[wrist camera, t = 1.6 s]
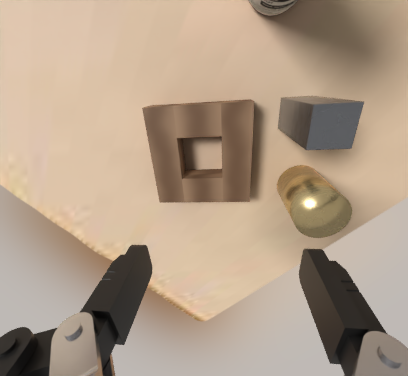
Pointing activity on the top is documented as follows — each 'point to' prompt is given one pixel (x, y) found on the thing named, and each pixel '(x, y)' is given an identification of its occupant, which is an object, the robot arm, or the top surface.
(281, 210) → the top surface
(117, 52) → the top surface
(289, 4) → the spray can
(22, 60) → the top surface
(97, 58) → the top surface
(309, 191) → the cylinder
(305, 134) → the square bit
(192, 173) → the bore block
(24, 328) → the robot arm
